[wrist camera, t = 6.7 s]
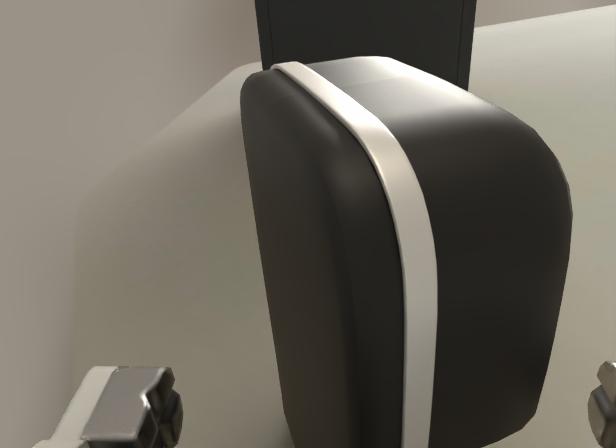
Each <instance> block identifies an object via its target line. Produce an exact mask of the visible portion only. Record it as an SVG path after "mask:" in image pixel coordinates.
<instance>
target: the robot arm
mask: <svg viewBox="0 0 616 448" xmlns="http://www.w3.org/2000/svg"><path fill="white" fill-rule="evenodd" d="M597 377H598V379H599V380H600V382H601V385H600V386H599V387H597V388H596V389H595V390H593V391H592V392H591V394H590V398H589V402H588V417H589V422H590V425H591V429H592V432H593V434H594V436H595V438H596V440H597V442H598V444H599V445H600V446H602V447H603V448H616V361H605V362H604V363H603V364H602V365H601V366H600V368H599V371H598V374H597ZM174 381H175V378H174V375H173V372H172V370H171V368H168V367H129V366H118V367H101V366H94V367H93V368H92V369H90V370H89V371H88V372H87V373H86V375H85V377H84V379H83V380H82V382H81V384H80V386H79V388H78V389H77V391H76V393H75V395H74V397H73V398H72V400H71V402H70V404H69V406H68V408H67V409H66V411H65V413H64V415H63V416H62V418H61V420H60V422H59V424H58V426H57V428H56V429H55V431H54V433H53V435H52V436H51V438H50V440H41V441H40V442H39V443H37V444H36V445H35V446H33V447H32V448H174V447H175V446H176V445H177V444H178V441H179V437H180V434H181V430H182V421H183V407H182V401H181V398H180V395H179V394H178V393H177V392H175V391H174V390H173V389H172V387H173V384H174Z"/></svg>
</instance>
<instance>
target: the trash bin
mask: <svg viewBox="0 0 616 448" xmlns="http://www.w3.org/2000/svg"><path fill="white" fill-rule="evenodd" d="M476 1H477V0H255V9H256V17H257V26H258V34H259V42H260V51H261V59H262V68H263V71H265V70H270V68H271V67H272V66H273V65H274V64H280V63H287V62H299V63H301V64H303V65H305V64H312V63H319V62H325V61H332V60H339V59H345V58H352V57H369V56H378V57H387V58H391V59H393V60H396V61H398V62H401V63H404V64H406V65H409V66H411V67H414V68H416V69H418V70H421V71H423V72H426V73H428V74H431V75H433V76H436V77H438V78H440V79H443V80H445V81H447V82H449V83H451V84H453V85H455V86H457V87H459V88H461V89H463V90H465V91H467V92H468V84H469V73H470V63H471V53H472V43H473V32H474V22H475V12H476Z"/></svg>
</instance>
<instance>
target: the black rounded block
mask: <svg viewBox="0 0 616 448" xmlns="http://www.w3.org/2000/svg"><path fill="white" fill-rule="evenodd" d="M240 108H241V121H242V129H243V137H244V145H245V152H246V159H247V166H248V173H249V180H250V187H251V194H252V201H253V208H254V215H255V222H256V228H257V235H258V242H259V249H260V255H261V262H262V268H263V275H264V281H265V288H266V294H267V301H268V307H269V314H270V320H271V326H272V333H273V339H274V345H275V352H276V358H277V365H278V372H279V379H280V386H281V393H282V400H283V408H284V414H285V417H286V420H287V423H288V426H289V429H290V432H291V435H292V438H293V441H294V444H295V447H296V448H481V447H484V446H487V445H489V444H492V443H495V442H497V441H499V440H501V439H503V438H505V437H507V436H509V435H511V434H513V433H515V432H517V431H519V430H521V429H522V428H523V427H524V426H525V425H526V424H527V423H528V422H529V420H530V419H531V418H532V417H533V416H534V415H535V413H536V409H537V406H538V402H539V398H540V395H541V391H542V387H543V384H544V380H545V376H546V372H547V369H548V364H549V359H550V355H551V350H552V346H553V341H554V337H555V332H556V327H557V322H558V317H559V311H560V306H561V301H562V296H563V290H564V285H565V279H566V273H567V267H568V262H569V254H570V243H571V230H572V218H573V212H572V204H571V197H570V189H569V184H568V182H567V180H566V177H565V175H564V173H563V170H562V168H561V165H560V163H559V161H558V159H557V158H556V156H555V155H554V153H553V152H552V151H551V150H550V148H549V147H548V146H547V145H546V143H545V142H544V141H543V140H542V138H541V137H540V136H539V135H538V133H537V132H536V131H535V130H534V129H533V128H531V127H530V126H528V125H527V124H526V123H524V122H523V121H521V120H520V119H518V118H517V117H515V116H514V115H513V114H511V113H509V112H507V111H505V110H503V109H501V108H499V107H497V106H495V105H493V104H491V103H489V102H487V101H485V100H483V99H481V98H479V97H477V96H475V95H473V94H471V93H469V92H467V91H465V90H463V89H461V88H459V87H457V86H455V85H453V84H451V83H449V82H447V81H445V80H443V79H440V78H438V77H436V76H433V75H431V74H428V73H426V72H423V71H421V70H418V69H416V68H414V67H411V66H409V65H406V64H404V63H401V62H398V61H396V60H393V59H391V58H387V57H378V56H369V57H352V58H345V59H339V60H332V61H325V62H319V63H312V64H305V65H303V64H301V63H299V62H287V63H280V64H274V65H273V66H272V67H271V68H270V70H265V71H260V72H257V73H253V74H251V75H250V76H249V77H248V78H247V79H246V80H245V82H244V84H243V86H242V89H241V95H240Z"/></svg>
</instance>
